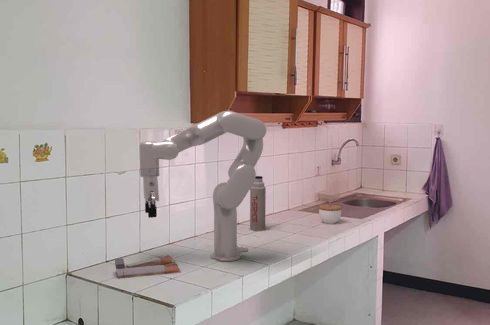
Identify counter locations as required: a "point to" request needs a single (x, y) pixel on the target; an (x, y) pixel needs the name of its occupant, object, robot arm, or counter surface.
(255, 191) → the thermos bottle
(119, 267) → the tab
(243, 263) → the counter surface
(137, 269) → the tongs fixed
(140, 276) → the walnut board
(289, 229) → the counter surface
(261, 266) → the counter surface
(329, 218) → the lidded bowl
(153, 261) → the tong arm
